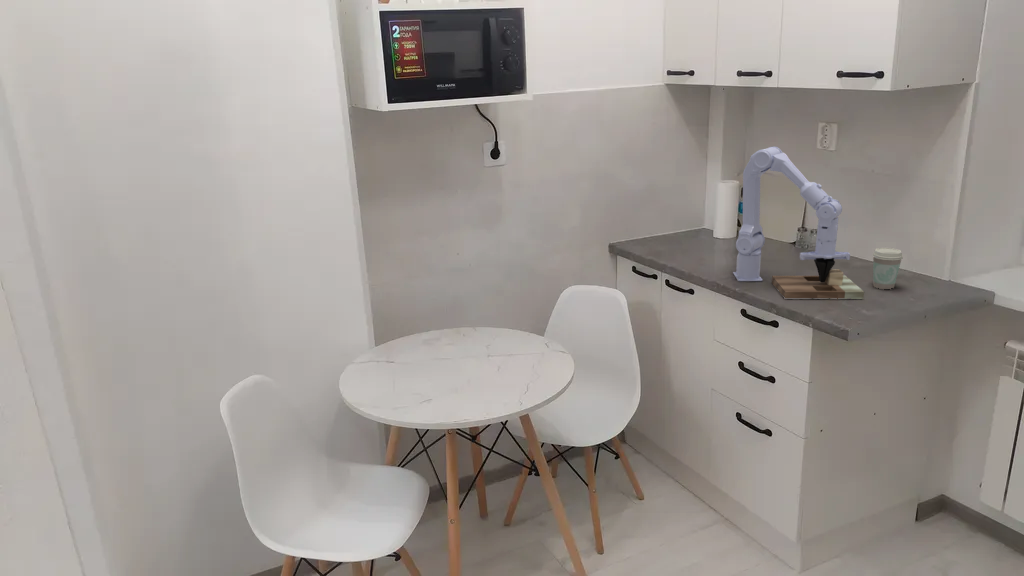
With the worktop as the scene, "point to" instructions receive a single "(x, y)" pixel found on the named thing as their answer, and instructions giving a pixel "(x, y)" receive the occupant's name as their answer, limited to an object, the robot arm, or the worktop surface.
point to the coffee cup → (886, 267)
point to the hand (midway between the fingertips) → (822, 281)
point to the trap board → (815, 288)
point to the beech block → (834, 277)
